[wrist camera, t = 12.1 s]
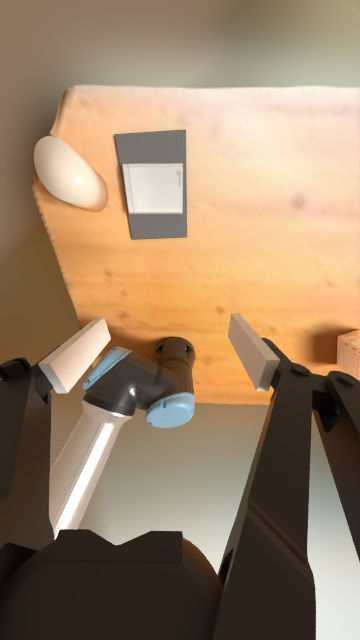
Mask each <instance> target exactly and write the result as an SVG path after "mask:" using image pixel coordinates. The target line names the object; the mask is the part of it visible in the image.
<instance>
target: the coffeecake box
mask: <svg viewBox="0 0 360 640" xmlns="http://www.w3.org/2000/svg"><path fill="white" fill-rule="evenodd" d="M337 365H338V366H339V367H341V368H342V369H344V370H345V371H346V372H348V373H349V374H350V375H352V376H353V377H354V378H356V379H357V380H359V381H360V329H359V330H355V331H352V332H349V333H346V334H343V335H339V336H337Z"/></svg>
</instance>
